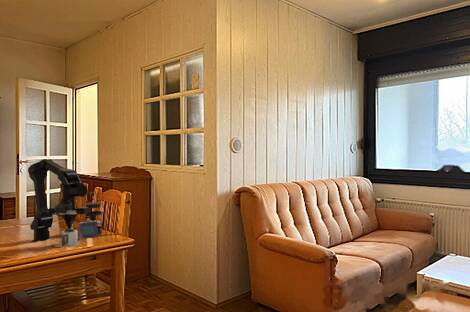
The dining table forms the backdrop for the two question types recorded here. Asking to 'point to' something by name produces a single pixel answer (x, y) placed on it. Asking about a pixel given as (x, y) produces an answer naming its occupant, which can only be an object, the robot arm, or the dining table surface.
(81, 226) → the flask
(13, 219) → the dining table surface
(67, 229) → the plunger
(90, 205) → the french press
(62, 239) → the grey boxy piece
